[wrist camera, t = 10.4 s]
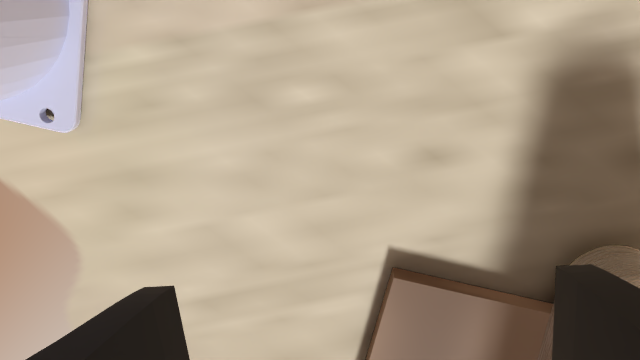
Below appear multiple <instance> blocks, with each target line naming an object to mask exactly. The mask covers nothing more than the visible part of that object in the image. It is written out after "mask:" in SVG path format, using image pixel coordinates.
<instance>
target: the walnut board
mask: <svg viewBox="0 0 640 360" xmlns="http://www.w3.org/2000/svg"><path fill="white" fill-rule="evenodd" d="M552 306H553V304H552V303H547V302H543V301H538V300H534V299H530V298H525V297H521V296H517V295H512V294H508V293H503V292H499V291H495V290H490V289H486V288H482V287H477V286H473V285H468V284H464V283H460V282H455V281H451V280H447V279H442V278H438V277H433V276H429V275H425V274H420V273H416V272H412V271H407V270H403V269H398V268H394V267H393V268H392V271H391V275H390V278H389V282H388V285H387V288H386V292H385V295H384V299H383V302H382V305H381V309H380V312H379V315H378V319H377V322H376V326H375V329H374V332H373V336H372V339H371V342H370V346H369V349H368V353H367V356H366V359H365V360H538V356H539V352H540V349H541V345H542V342H543V338H544V335H545V331H546V328H547V324H548V320H549V317H550V313H551V310H552Z"/></svg>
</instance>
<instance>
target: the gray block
mask: <svg viewBox="0 0 640 360" xmlns="http://www.w3.org/2000/svg"><path fill="white" fill-rule="evenodd" d="M587 264H592V265H594V266H597V267H599V268H601V269H603V270H605V271H607V272H609V273H611V274H613V275H615V276H617V277H619V278H621V279H623V280H625V281H627V282H629V283H631V284H633V285H634V286H636V287H638V288H640V250H638V249H636V248H633V247H629V246H623V245H609V246H603V247H599V248H595V249H593V250H590V251H588V252H586V253H584V254H583V255H581V256H580V257H578V258H577V259H576V260H574V261H573V262H572V263H571V264H570V265H587ZM554 301H555V299H554ZM553 323H554V303H553V306H552V310H551V313H550V317H549V320H548V324H547V328H546V331H545V335H544V338H543V342H542V345H541V349H540V352H539V356H538V360H552V346H553Z"/></svg>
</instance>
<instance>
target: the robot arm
mask: <svg viewBox="0 0 640 360" xmlns="http://www.w3.org/2000/svg"><path fill="white" fill-rule="evenodd" d="M87 10H88V0H0V119H5V120H9V121H13V122H18V123H22V124H26V125H31V126H35V127H40V128H44V129H48V130H53V131H57V132H63V133H67V132H69V131H72V130H74V129H76V128H77V126H78V125H79V123H80V117H81V101H82V86H83V71H84V56H85V40H86V25H87ZM47 108H48V109H50V110H51V111H52V112H53V113H54V117H55V118H54V121H53V120H51V119H49V118H48V117H47V116H46V109H47ZM26 360H190V359H189V355H188V350H187V345H186V340H185V336H184V331H183V326H182V321H181V317H180V312H179V307H178V302H177V298H176V293H175V288H174V286H161V287H144V288H142V289H140V290H138V291H136V292H134V293H132V294H130V295H129V296H127V297H125V298H123V299H122V300H120V301H119V302H117V303H115V304H114V305H112V306H111V307H109V308H107V309H106V310H104V311H103V312H101V313H100V314H98V315H97V316H95V317H93V318H92V319H90V320H89V321H87V322H86V323H84V324H83V325H81V326H79V327H78V328H76V329H75V330H73V331H72V332H70V333H69V334H67V335H65V336H64V337H62V338H61V339H59V340H58V341H56V342H54V343H53V344H51V345H49V346H48V347H46V348H44V349H43V350H41V351H39V352H38V353H36V354H34V355H33V356H31V357H29V358H28V359H26ZM552 360H640V288H638V287H636V286H634V285H633V284H631V283H629V282H627V281H625V280H623V279H621V278H619V277H617V276H615V275H613V274H611V273H609V272H607V271H605V270H603V269H601V268H599V267H597V266H594V265H592V264H587V265H568V266H556V278H555V301H554V323H553V346H552Z"/></svg>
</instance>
